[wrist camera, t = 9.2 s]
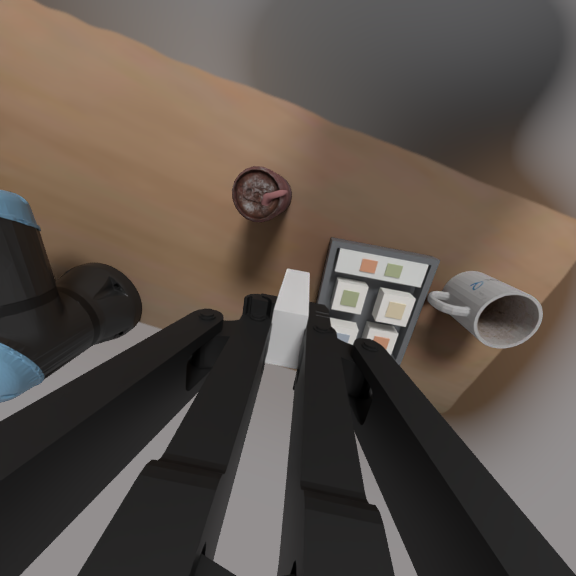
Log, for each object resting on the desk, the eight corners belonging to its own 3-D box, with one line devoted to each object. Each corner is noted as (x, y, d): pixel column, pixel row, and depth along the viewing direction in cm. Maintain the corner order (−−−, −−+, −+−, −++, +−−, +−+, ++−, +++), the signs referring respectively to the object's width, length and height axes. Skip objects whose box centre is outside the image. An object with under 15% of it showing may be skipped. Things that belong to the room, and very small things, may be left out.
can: (297, 208, 43) (291, 214, 30) (260, 218, 44) (239, 228, 31) (288, 169, 41) (277, 157, 28) (249, 180, 42) (222, 174, 29)
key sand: (371, 313, 46) (375, 321, 43) (380, 287, 44) (384, 293, 41) (400, 319, 46) (406, 327, 43) (409, 292, 44) (416, 299, 41)
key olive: (330, 302, 47) (331, 309, 45) (336, 276, 46) (338, 281, 43) (357, 307, 47) (360, 315, 44) (365, 281, 46) (368, 287, 43)
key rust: (359, 344, 50) (362, 353, 47) (366, 321, 48) (370, 329, 45) (385, 349, 50) (390, 358, 47) (393, 326, 48) (398, 334, 45)
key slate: (321, 341, 48) (322, 350, 46) (328, 317, 47) (329, 325, 44) (348, 346, 48) (351, 355, 46) (355, 322, 47) (358, 330, 44)
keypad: (307, 339, 51) (307, 349, 48) (331, 237, 44) (332, 240, 41) (394, 356, 51) (400, 367, 48) (431, 256, 44) (441, 260, 41)
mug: (504, 279, 44) (556, 301, 35) (478, 323, 47) (519, 355, 38) (434, 258, 44) (467, 276, 35) (412, 304, 47) (437, 331, 38)
